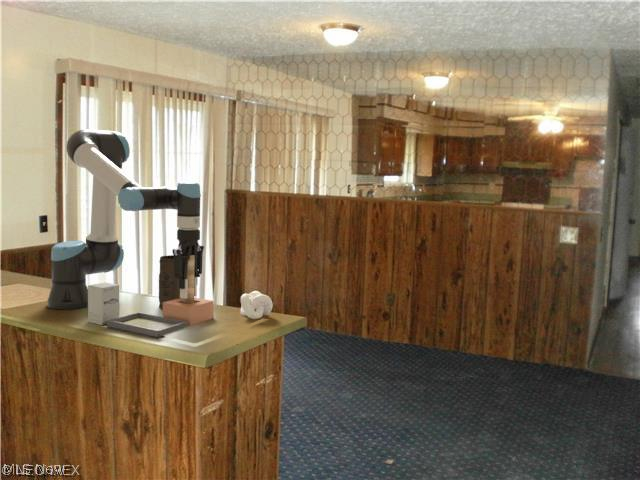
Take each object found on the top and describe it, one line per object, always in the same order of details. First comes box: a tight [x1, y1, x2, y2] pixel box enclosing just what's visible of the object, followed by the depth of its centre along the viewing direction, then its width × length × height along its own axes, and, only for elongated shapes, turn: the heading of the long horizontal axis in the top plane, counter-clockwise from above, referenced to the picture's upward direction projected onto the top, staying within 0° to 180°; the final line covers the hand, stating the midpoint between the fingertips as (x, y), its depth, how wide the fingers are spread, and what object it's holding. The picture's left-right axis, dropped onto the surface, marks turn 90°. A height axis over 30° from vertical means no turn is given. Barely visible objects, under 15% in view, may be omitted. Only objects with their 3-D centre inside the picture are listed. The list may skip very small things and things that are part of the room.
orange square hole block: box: [162, 297, 215, 326], centre depth 216 cm, size 12×12×7 cm
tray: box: [106, 311, 189, 340], centre depth 207 cm, size 22×14×2 cm, turn 61°
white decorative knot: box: [240, 290, 274, 320], centre depth 223 cm, size 11×12×9 cm
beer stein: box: [158, 254, 180, 310], centre depth 235 cm, size 15×11×20 cm
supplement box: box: [87, 282, 120, 326], centre depth 213 cm, size 7×7×13 cm
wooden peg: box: [182, 255, 195, 305], centre depth 215 cm, size 4×4×22 cm
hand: (188, 296), depth 215 cm, fingers closed on wooden peg, 4 cm apart
